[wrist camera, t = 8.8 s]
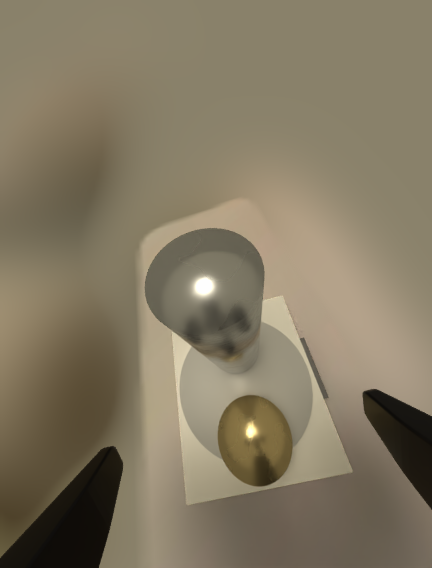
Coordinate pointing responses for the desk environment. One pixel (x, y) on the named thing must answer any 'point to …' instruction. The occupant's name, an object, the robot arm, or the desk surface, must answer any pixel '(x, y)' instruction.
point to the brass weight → (255, 440)
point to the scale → (265, 383)
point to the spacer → (210, 295)
